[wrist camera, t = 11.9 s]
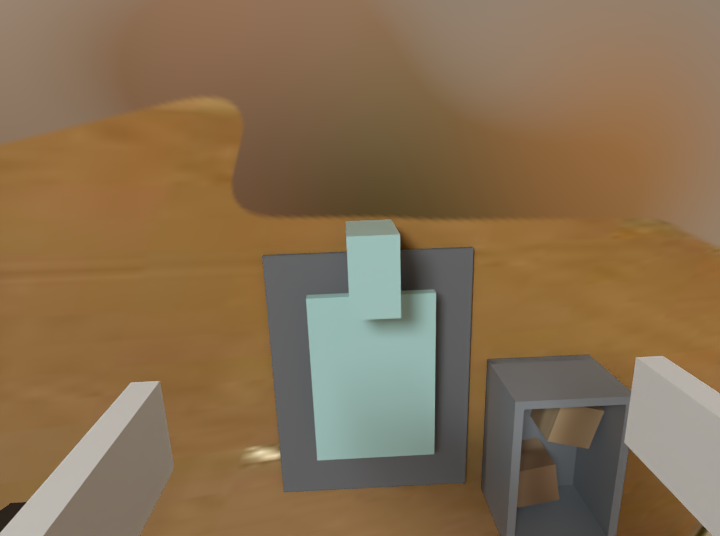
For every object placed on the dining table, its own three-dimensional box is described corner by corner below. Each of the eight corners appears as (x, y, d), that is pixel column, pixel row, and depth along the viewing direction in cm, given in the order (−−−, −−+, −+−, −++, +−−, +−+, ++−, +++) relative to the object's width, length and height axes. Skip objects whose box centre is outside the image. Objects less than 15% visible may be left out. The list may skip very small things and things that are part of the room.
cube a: (502, 477, 37) (517, 507, 34) (498, 445, 37) (512, 473, 33) (541, 469, 37) (559, 499, 34) (537, 437, 36) (555, 464, 33)
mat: (284, 488, 38) (283, 492, 38) (263, 255, 33) (262, 256, 32) (463, 479, 38) (465, 482, 38) (472, 246, 33) (473, 248, 33)
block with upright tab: (318, 441, 36) (313, 503, 30) (303, 219, 32) (294, 238, 25) (428, 435, 37) (446, 495, 30) (430, 214, 32) (451, 232, 26)
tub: (481, 488, 39) (505, 549, 33) (487, 359, 35) (515, 401, 30) (574, 483, 39) (614, 543, 33) (589, 354, 36) (636, 395, 30)
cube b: (529, 415, 36) (547, 441, 33) (543, 379, 35) (562, 402, 32) (567, 422, 36) (588, 448, 33) (581, 387, 35) (604, 411, 32)
